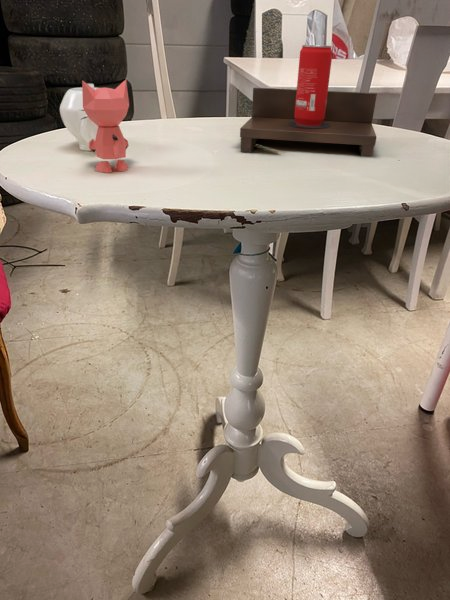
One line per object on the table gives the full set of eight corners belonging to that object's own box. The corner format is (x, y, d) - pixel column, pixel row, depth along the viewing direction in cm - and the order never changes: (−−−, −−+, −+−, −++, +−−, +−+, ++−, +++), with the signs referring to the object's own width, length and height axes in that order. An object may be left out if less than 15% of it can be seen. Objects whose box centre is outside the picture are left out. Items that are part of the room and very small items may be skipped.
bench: (367, 145, 87) (376, 92, 83) (372, 161, 76) (382, 102, 72) (251, 138, 91) (253, 87, 86) (239, 152, 80) (241, 95, 75)
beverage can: (288, 122, 83) (295, 44, 77) (314, 121, 84) (322, 45, 78) (302, 127, 78) (310, 45, 72) (329, 126, 80) (339, 46, 74)
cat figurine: (129, 162, 73) (122, 76, 67) (144, 172, 67) (138, 81, 61) (83, 166, 70) (71, 77, 64) (95, 178, 64) (84, 82, 58)
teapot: (61, 162, 71) (51, 97, 67) (68, 137, 88) (60, 83, 83) (125, 160, 73) (119, 96, 69) (120, 135, 90) (115, 83, 85)
